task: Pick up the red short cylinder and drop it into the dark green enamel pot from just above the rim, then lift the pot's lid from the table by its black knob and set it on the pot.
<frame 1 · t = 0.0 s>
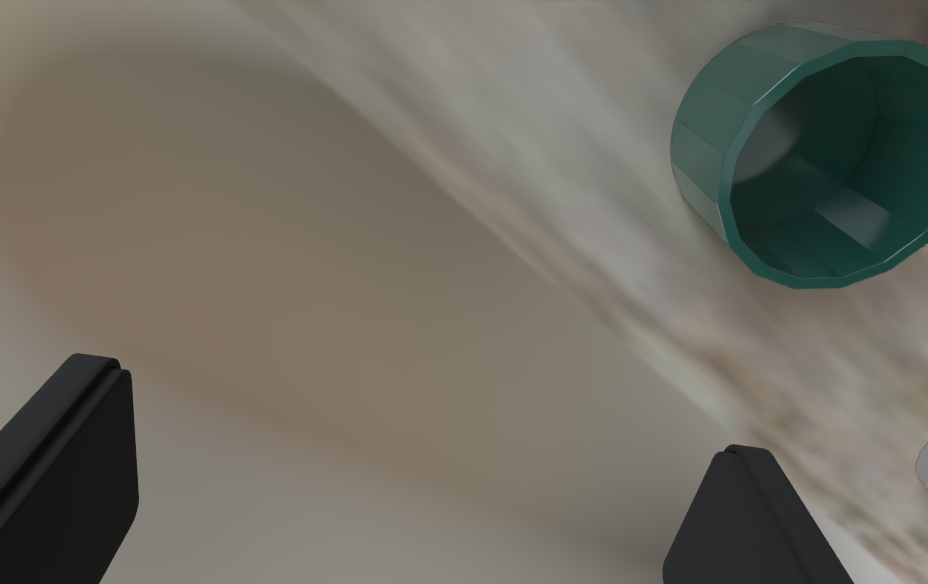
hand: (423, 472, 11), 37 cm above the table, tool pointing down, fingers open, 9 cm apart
pot: (774, 134, 46), on the table
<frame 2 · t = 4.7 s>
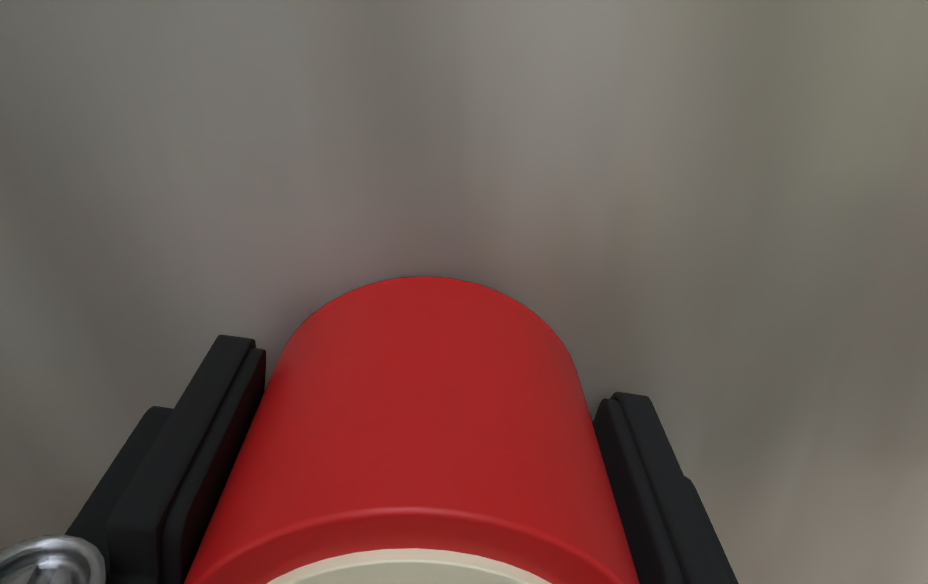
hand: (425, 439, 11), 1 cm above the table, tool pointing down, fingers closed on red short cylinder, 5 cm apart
red short cylinder: (426, 412, 12), on the table, touching gripper
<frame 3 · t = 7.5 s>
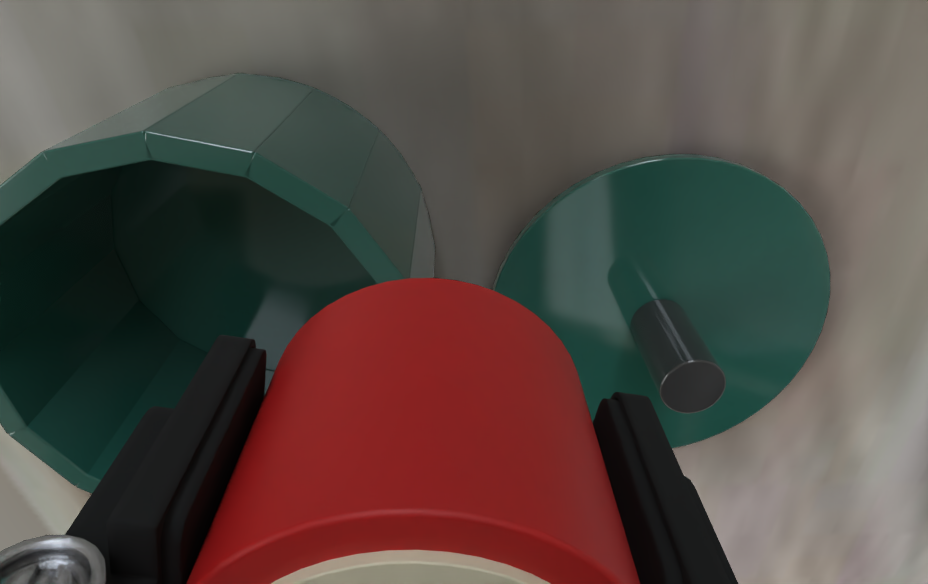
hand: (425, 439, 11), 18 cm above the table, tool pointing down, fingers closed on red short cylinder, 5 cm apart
pot lid: (654, 316, 31), point 1 cm above the table
red short cylinder: (427, 413, 12), point 17 cm above the table, touching gripper
pot: (269, 243, 29), on the table
when the fingers open (12 cm above the table, at t = 10.4 s): red short cylinder drops 11 cm, resting on pot.
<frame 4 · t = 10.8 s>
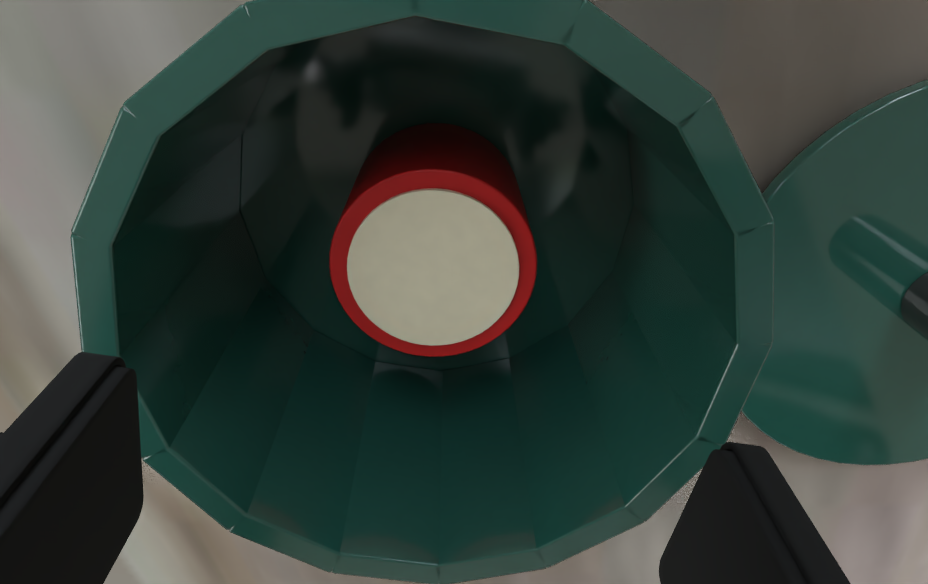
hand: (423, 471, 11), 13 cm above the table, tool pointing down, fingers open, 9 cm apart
pot lid: (926, 290, 24), point 1 cm above the table
red short cylinder: (437, 206, 22), point 1 cm above the table, touching pot
pot: (437, 201, 22), on the table
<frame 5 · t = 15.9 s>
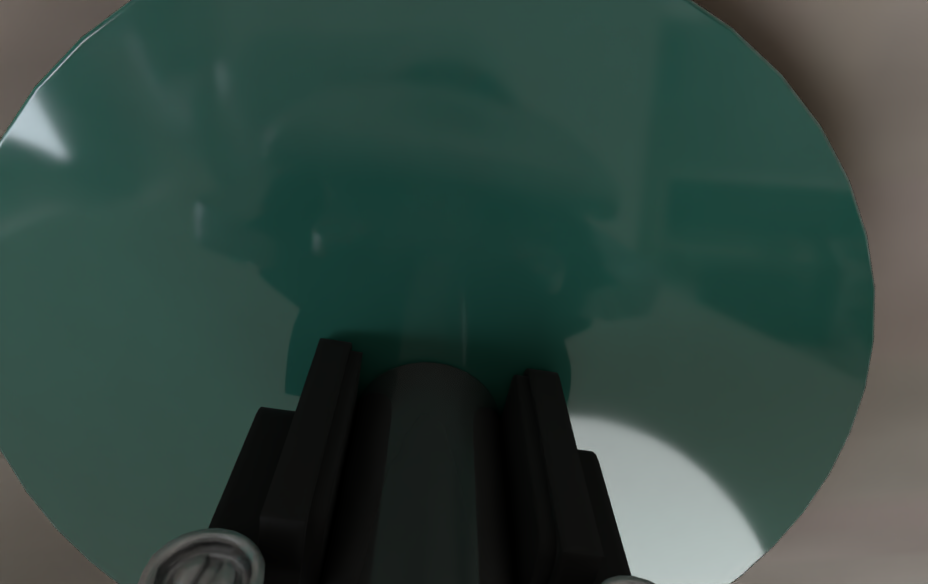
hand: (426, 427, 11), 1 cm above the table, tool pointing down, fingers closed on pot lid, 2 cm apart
pot lid: (427, 399, 12), point 1 cm above the table, touching gripper
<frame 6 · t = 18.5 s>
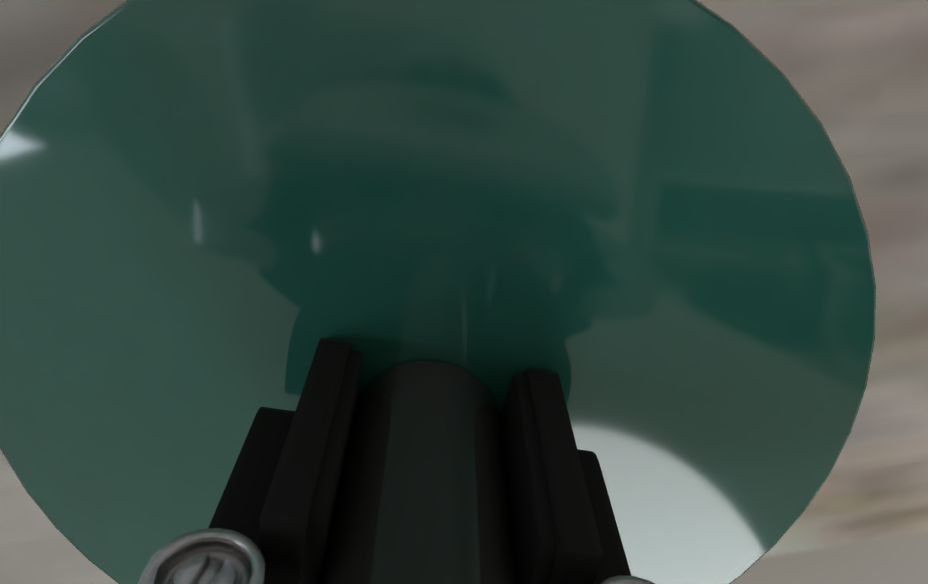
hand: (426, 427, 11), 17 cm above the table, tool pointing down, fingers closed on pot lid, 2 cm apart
pot lid: (428, 398, 12), point 16 cm above the table, touching gripper
when the fingers open (10 cm above the table, at t = 21.2 s): pot lid stays where it is, resting on pot.
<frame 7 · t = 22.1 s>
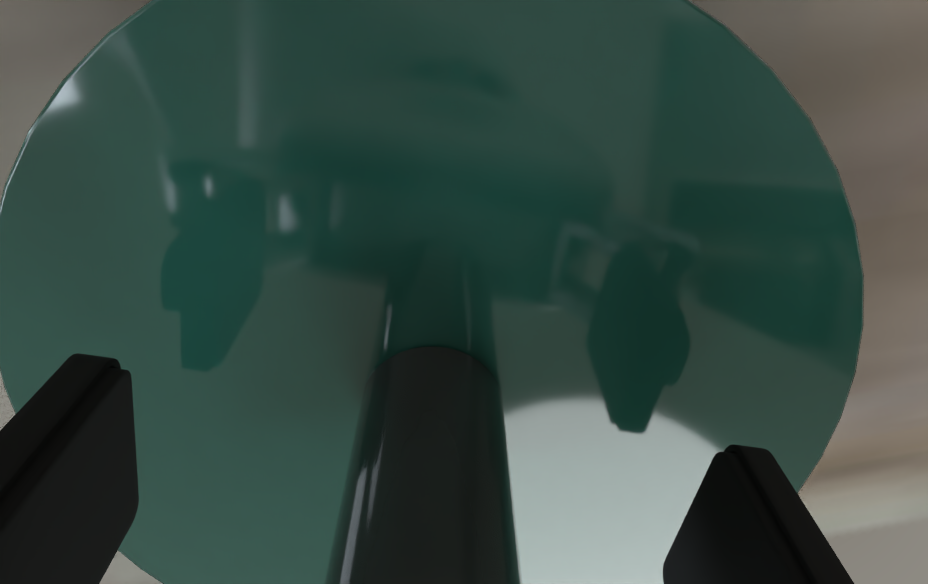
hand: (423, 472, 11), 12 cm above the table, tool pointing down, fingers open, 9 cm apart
pot lid: (433, 384, 13), point 9 cm above the table, touching pot
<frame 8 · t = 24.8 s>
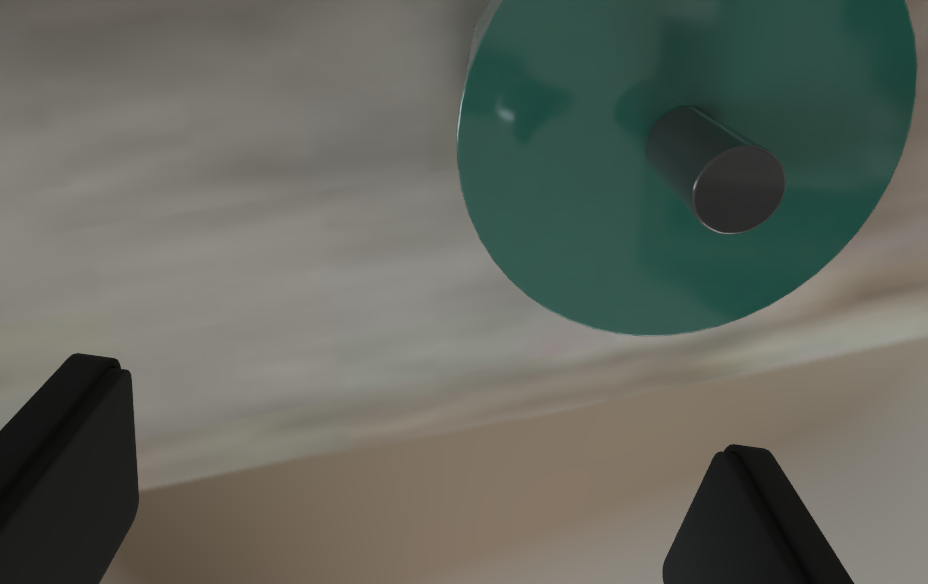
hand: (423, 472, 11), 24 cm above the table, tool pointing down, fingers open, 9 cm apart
pot lid: (677, 139, 23), point 9 cm above the table, touching pot
pot: (616, 88, 31), on the table
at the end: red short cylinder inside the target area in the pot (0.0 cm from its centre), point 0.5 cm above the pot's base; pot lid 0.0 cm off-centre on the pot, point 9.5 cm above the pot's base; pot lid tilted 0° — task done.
